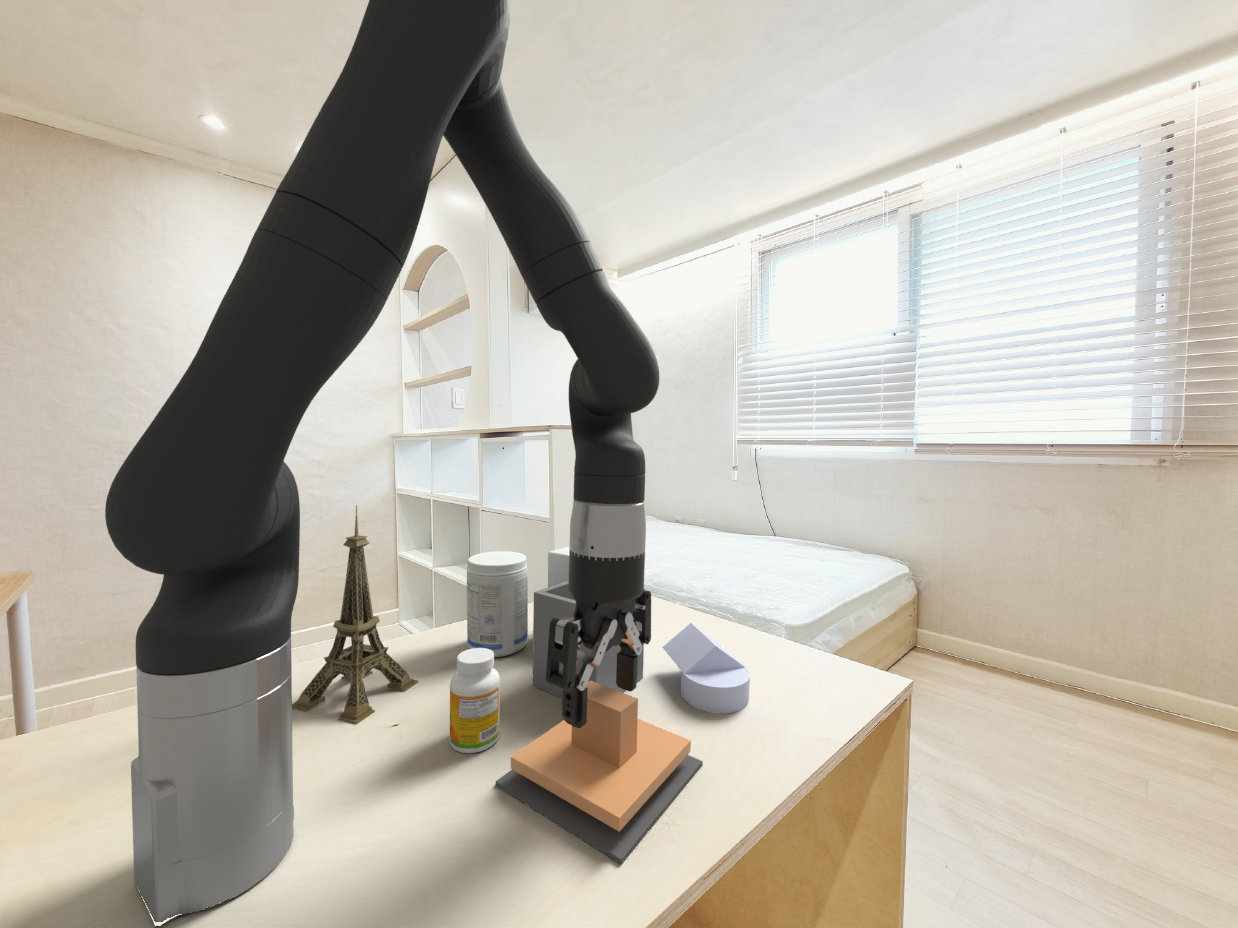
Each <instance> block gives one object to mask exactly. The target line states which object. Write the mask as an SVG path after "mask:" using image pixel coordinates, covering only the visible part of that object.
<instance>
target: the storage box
mask: <svg viewBox="0 0 1238 928" xmlns="http://www.w3.org/2000/svg"><path fill="white" fill-rule="evenodd" d="M568 583H569V580H568V581H565V582H563V583H560V584H557V585H554V586H551V587H548V586H547V587H544V588H543V589H540V590H537V591H533V616H532V617H533V629H532V635H533V636H532V686H533V687H536V688H538V689H540V690H542V691H545V692H547V693H549V694H552V695H555V696H556V697H559V698H560V699H563V689H560V688H558V687H556V686H553V685H551V684H548V683H547V682H546V670H547V655H548V640H549V626H550V622H551V620H552V619H553V618H555V617H556V618H559V619H562V620H566V619H569V618H572V616H573V613H574V610H575V606H576V601H575V599H574V597H573V595H572V594H571V593H570V591H569V588H568ZM644 590H646V588H644ZM636 628H637V630H640V631H642V624H641V623H640V622H637V621H636ZM644 646H645V644H643V645H642V652H641V654H640V655H638V665H637V683H638V682H640V681H641V680H642V679H644V653H645V652H644V651H645V649H644V648H645V647H644ZM579 651H582V652H585V653H591V652H592V651H593V650H591V649H588V648H586V647H585V646H584V645H583V643H581V645H580V647H579ZM620 651H621V650H620V649H618V647H617V646H612V647H611V648H610V649H609V650H608V651H606V652H605V653H604V655H603V658H602V660H601V663H600V665H599V666H598V667H595V668H594V669H593V671H592V673H591V676H590V678H589V681H593V682H596V683H598V684H601V685H604V686H606V687H609V688H612V689H614V690H617V691H619V692H622V693H625V692H626V691H627V690H624V689H621V688H619V687H618V686H617V684H616V669H617V653H618V652H620ZM582 665H583V662H581V661H579V662H578V663H577V664H576V674H579V673H580V670H581V668H582ZM562 669H563V664H562V663H561V662H560V663H559V671H562ZM589 681H588V682H589Z"/></svg>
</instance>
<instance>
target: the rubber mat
mask: <svg viewBox="0 0 1238 928" xmlns="http://www.w3.org/2000/svg"><path fill="white" fill-rule="evenodd" d="M702 766H703V760H701V759H699V758H696V757H694V756H692V755H690V754H688V755H687V756H686V757H685V758H684V759H683V761H682V762H681V763H680V764H679V765H678V766H677V767H676V768H675V770H674V771H673V772H672V773H671V774H670V775H669V776H668V777H667V779H666V780H665V781H664V782H663V783H662V784H661V785H660V786H659V788H658V789H657V790H656V791H655V792H654V793H653V794H652V796H651V797H650V798H649V799H648V800H647V801H646V802H645V803H644V805H643V806H642V807H641V808H640V809H639V810H638V811H637V812H636V814H635V815H634V816H633V817H632V818H631V819H630V820H629V821H628V823H627V824H626V825H625V826H624V827H623V828H622V829H621V831H620V832H619V831H617V830H615V829H614V828H612V827H610V826H609V825H607V824H605V823H603V822H602V821H600V820H598V819H597V818H595V817H593V816H591V815H590V814H588V813H586V812H585V811H583V810H581V809H579V808H578V807H576V806H574V805H573V804H571V803H569V802H567V801H566V800H564V799H562V798H560V797H559V796H557V795H555V794H554V793H552V792H550V791H548V790H547V789H545V788H543V787H542V786H540V785H538V784H536V783H535V782H533V781H531V780H530V779H528V778H526V777H524V776H523V775H521V774H519V773H518V772H516V771H514V770H512V769H511V770H509V771H508V772H507V773H505V774H504V775H502V776H500V777H499V778H498V779H496V780H495V787H498V788H499V789H501V790H503V791H504V792H506V793H507V794H509V795H511V796H512V797H514V798H515V799H517V800H518V801H520V802H521V803H523V804H524V805H527V806H528V807H529V808H531V809H532V810H534V811H536V812H537V813H539V814H541V815H542V816H544V817H545V818H547V819H549V820H550V821H551V822H553V823H555V824H557V825H558V826H560V827H561V828H563V829H564V830H565V831H568V832H569V833H571V834H572V835H574V836H576V837H577V838H579V839H580V840H582V841H584V842H585V843H587V844H588V845H590V846H592V847H593V848H595V849H597V850H598V851H600V853H603V854H604V855H606V856H607V857H609V858H611V859H612V860H614V861H615V862H617V863H618V864H620V865H623V863H624V861H625V860H626V859H627V858H628V857H629V856H630V854H631V853H632V852H633V851H634V850H635V849H636V847H637V846H638V844H639V843H640V842H641V841H642V840H643V838H644V837H645V836H646V835H647V834H648V833H649V832H650V830H651V829H652V827H653V826H654V825H655V824H656V823H657V821H658V820H659V819H660V818H661V816H662V815H663V814H664V813H665V812H666V810H667V809H668V807H670V806H671V804H672V803H673V801H674V800H675V799H676V798H677V797H678V796H679V794H680V793H681V792H682V791H683V790H684V788H685V787H686V785H688V784H689V782H690V781H691V780H692V779H693V777H694V776H695V775H696V773H698V771H699V770H700V769H701V767H702Z"/></svg>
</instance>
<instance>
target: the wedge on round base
mask: <svg viewBox="0 0 1238 928" xmlns="http://www.w3.org/2000/svg"><path fill="white" fill-rule="evenodd" d="M662 649H663V650H664V651H665V652H666V654H667V655H668V656H669V657H670V659H671V660H672V661H673V663H674V664H675V665H676V666H677V667H678V668H679V670H680V671H681V672H680V673H681V674H680V675H681V676H680V695H681V694H682V695H681V697H682V696H683V697H682V699H683V698H684V699H685V700H684V699H683V700H684V701H685V702H686V701H687V702H688V703H687V702H686V703H687V704H689V705H690V704H691V705H690V706H692V707H694V708H695V707H696V708H695V709H698V710H701V711H704V712H707V713H713V714H730V713H731V714H732V713H736V712H737V713H738V712H740V711H741V710H743V709H745V708H746V707H747V706H748V705H749V703H750V681H751V680H750V679H751V674H750V672H749V670H748V668H746V666H745V665H744V664H742V663H741V662H740V661H739V660H738V659H737V658H736V657H735V656H733V654H731V653H730V651H728V650H727V649H726V648H725V647H723V646H722V644H720V643H719V642H718V641H717V640H716V639H714V638H712V637H711V636H710V635H709V634H707V633H705V632H704V631H703V630H701V629H700V628H699V627H697V626H696V625H694V624H693V623H692V622H690V623H689V624H688V625H686V626H685V627H684V628H683V629H682V630H681V631H679V632H678V633H677V634H676V635H675V636H673V638H671V639H670V640H668V641H667V642H666V643H665V644H664V645H663V646H662ZM748 702H749V703H748Z"/></svg>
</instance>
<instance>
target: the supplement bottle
mask: <svg viewBox="0 0 1238 928" xmlns="http://www.w3.org/2000/svg"><path fill="white" fill-rule="evenodd" d="M500 705H501V677H500V673H499V672H498V670H497V669H495V657H494V653H493V651H492V650H490V649H486V648H473V649H469V648H468V649H466V650H464V651H461V652H459V654H458V655H457V657H456V673H455V674H454V675H453V676H451V679H450V682H449V743H450V746H451V747H452V749H453V750H455V751H457V752H458V753H462V754H463V753H464V754H473V753H474V754H475V753H480V752H483V751H485V750H486V751H487V749H489V748H491V747H492V746H494V745H495V744H496V743H497V741H498V740H499V737H500V728H501V727H500V725H501V724H500V722H501V721H500V720H501V719H500V718H501V717H500V716H501V715H500V714H501V706H500Z"/></svg>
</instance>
